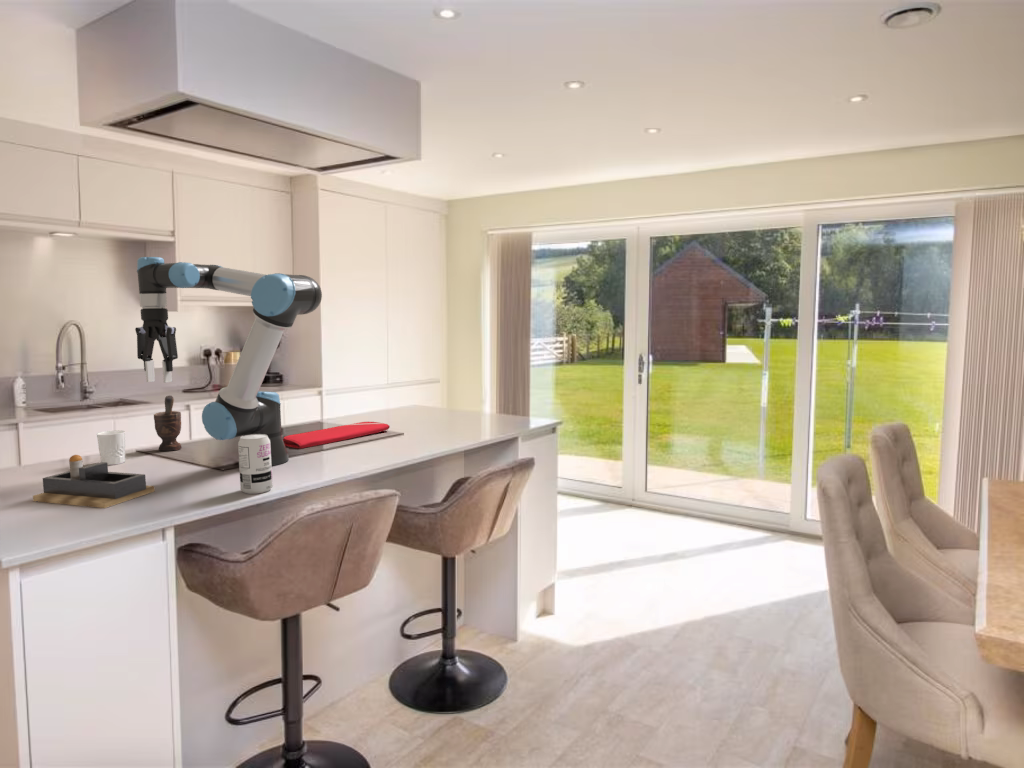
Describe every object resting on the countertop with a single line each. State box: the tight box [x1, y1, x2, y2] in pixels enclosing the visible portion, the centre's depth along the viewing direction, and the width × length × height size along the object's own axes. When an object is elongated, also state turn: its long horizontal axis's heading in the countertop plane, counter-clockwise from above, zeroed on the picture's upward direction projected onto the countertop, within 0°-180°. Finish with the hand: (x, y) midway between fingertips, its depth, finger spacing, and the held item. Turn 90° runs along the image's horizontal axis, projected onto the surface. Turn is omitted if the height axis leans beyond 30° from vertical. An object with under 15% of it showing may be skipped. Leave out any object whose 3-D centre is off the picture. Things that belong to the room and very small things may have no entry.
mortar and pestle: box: [153, 394, 182, 452], centre depth 244 cm, size 12×9×20 cm
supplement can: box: [237, 434, 274, 495], centre depth 189 cm, size 8×8×15 cm
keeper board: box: [32, 454, 156, 509], centre depth 186 cm, size 24×16×11 cm, turn 73°
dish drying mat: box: [282, 421, 390, 450], centre depth 264 cm, size 16×41×4 cm, turn 140°
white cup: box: [96, 430, 126, 466], centre depth 225 cm, size 8×8×10 cm
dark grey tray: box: [42, 461, 147, 499], centre depth 185 cm, size 10×24×7 cm, turn 73°
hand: (159, 381), depth 218 cm, fingers open, 6 cm apart
